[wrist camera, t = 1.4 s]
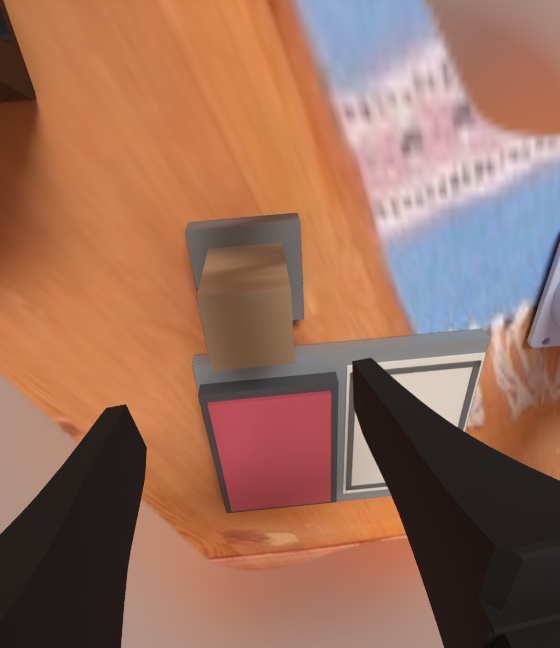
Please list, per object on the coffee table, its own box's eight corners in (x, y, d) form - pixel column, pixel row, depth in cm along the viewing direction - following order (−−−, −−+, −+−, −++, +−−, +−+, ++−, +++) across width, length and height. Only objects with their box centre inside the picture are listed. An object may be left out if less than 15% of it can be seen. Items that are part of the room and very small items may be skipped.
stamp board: (482, 328, 24) (502, 350, 22) (444, 479, 32) (456, 504, 31) (194, 355, 24) (189, 379, 22) (227, 501, 32) (226, 528, 30)
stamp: (297, 212, 20) (315, 263, 14) (301, 305, 23) (317, 378, 17) (189, 221, 20) (165, 277, 14) (207, 314, 23) (193, 389, 17)
